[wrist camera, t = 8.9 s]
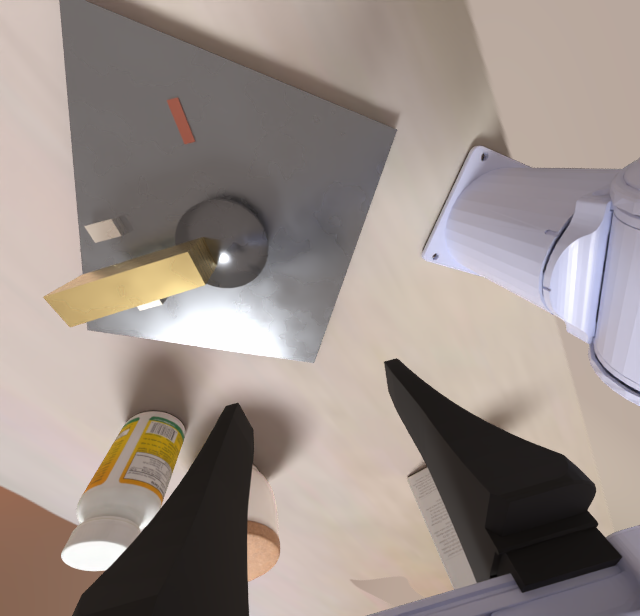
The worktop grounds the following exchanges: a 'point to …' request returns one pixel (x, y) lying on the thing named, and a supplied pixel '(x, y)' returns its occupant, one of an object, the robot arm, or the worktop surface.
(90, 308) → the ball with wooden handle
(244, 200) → the base plate
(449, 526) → the skincare box
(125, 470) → the supplement bottle
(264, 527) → the lidded jar
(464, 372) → the worktop surface
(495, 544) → the robot arm
